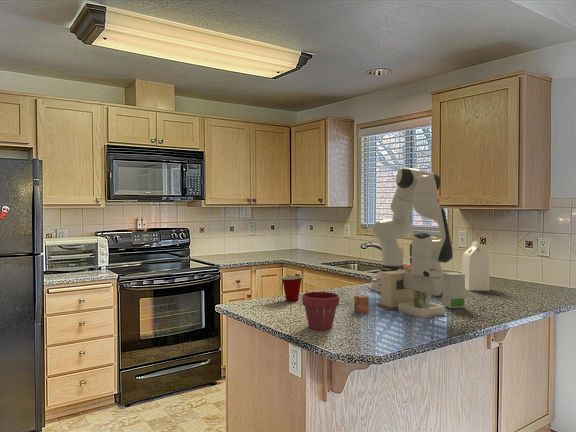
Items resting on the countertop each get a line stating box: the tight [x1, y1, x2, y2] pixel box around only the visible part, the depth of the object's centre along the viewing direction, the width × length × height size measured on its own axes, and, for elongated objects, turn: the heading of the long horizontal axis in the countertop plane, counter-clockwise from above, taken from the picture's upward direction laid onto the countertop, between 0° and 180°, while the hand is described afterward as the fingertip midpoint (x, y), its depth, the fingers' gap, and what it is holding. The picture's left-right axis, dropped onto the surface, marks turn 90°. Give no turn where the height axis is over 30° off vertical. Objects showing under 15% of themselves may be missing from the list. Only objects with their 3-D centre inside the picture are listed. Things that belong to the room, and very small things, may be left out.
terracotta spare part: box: [353, 294, 370, 315], centre depth 205 cm, size 4×4×7 cm
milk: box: [461, 241, 491, 292], centre depth 258 cm, size 12×12×26 cm
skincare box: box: [441, 271, 466, 309], centre depth 215 cm, size 8×7×16 cm
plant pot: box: [301, 291, 340, 331], centre depth 180 cm, size 14×14×13 cm
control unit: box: [376, 270, 414, 312], centre depth 215 cm, size 10×18×16 cm, turn 118°
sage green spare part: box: [414, 291, 429, 309], centre depth 203 cm, size 4×4×7 cm
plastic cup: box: [280, 275, 303, 303], centre depth 228 cm, size 11×11×12 cm
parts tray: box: [397, 301, 446, 319], centre depth 203 cm, size 14×14×4 cm
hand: (421, 301), depth 203 cm, fingers closed on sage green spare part, 4 cm apart
